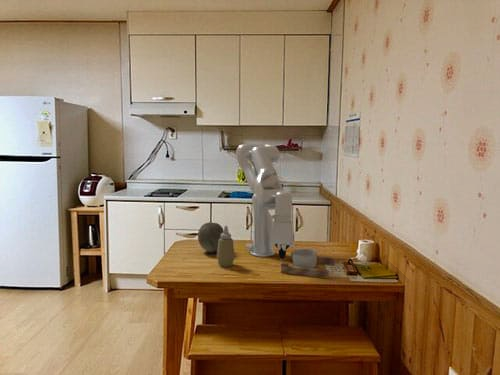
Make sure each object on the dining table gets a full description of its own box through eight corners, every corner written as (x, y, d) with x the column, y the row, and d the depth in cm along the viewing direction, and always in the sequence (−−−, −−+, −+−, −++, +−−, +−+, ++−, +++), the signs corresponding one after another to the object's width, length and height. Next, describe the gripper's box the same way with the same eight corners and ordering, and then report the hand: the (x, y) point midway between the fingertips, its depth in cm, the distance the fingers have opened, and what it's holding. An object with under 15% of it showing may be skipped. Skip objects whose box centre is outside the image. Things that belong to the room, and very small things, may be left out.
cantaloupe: (230, 250, 198) (231, 222, 197) (213, 257, 186) (213, 227, 185) (209, 246, 206) (209, 218, 204) (191, 252, 194) (191, 223, 192)
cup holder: (280, 272, 166) (281, 264, 166) (292, 258, 186) (292, 251, 186) (327, 278, 160) (328, 269, 159) (334, 263, 180) (334, 255, 179)
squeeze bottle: (237, 263, 178) (237, 225, 176) (230, 268, 170) (230, 228, 168) (220, 261, 180) (221, 223, 178) (213, 266, 173) (213, 227, 171)
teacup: (315, 273, 166) (316, 255, 165) (290, 271, 168) (291, 253, 167) (316, 263, 179) (317, 247, 178) (293, 262, 181) (294, 245, 180)
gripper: (264, 218, 173) (264, 258, 175) (297, 221, 168) (296, 262, 170) (269, 216, 180) (268, 254, 182) (301, 218, 175) (300, 257, 178)
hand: (282, 258), depth 176 cm, fingers closed
